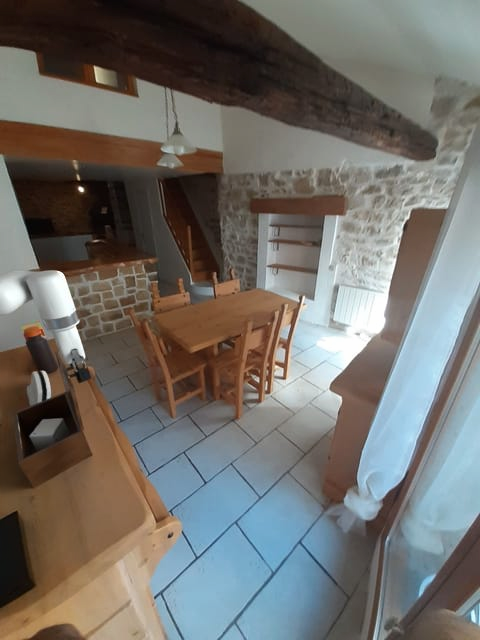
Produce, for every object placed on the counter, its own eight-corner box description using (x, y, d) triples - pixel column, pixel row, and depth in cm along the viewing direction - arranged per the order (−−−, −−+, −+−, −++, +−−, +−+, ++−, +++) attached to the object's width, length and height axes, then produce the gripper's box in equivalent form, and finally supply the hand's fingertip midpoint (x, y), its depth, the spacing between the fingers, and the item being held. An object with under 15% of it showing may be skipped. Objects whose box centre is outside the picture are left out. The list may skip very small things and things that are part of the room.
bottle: (60, 363, 111) (44, 323, 102) (56, 373, 105) (39, 331, 96) (41, 367, 109) (23, 326, 100) (37, 376, 103) (17, 334, 94)
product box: (59, 452, 72) (51, 435, 69) (37, 454, 72) (27, 436, 69) (71, 434, 78) (63, 417, 74) (50, 435, 77) (42, 418, 74)
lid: (69, 387, 62) (94, 379, 65) (54, 351, 76) (75, 346, 79) (80, 431, 68) (102, 421, 71) (65, 390, 82) (84, 384, 85)
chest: (33, 488, 65) (18, 464, 60) (25, 435, 78) (13, 412, 74) (92, 455, 73) (83, 431, 68) (76, 412, 87) (67, 391, 82)
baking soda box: (54, 359, 114) (42, 328, 107) (36, 364, 110) (22, 333, 103) (51, 350, 120) (39, 320, 113) (34, 355, 117) (20, 325, 109)
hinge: (26, 390, 96) (28, 366, 94) (42, 387, 99) (43, 365, 97) (32, 415, 85) (34, 390, 83) (49, 412, 88) (52, 387, 86)
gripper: (39, 312, 68) (59, 363, 76) (49, 337, 57) (72, 394, 65) (70, 305, 73) (87, 354, 80) (85, 326, 61) (103, 381, 69)
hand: (80, 372), depth 73 cm, fingers open, 9 cm apart
